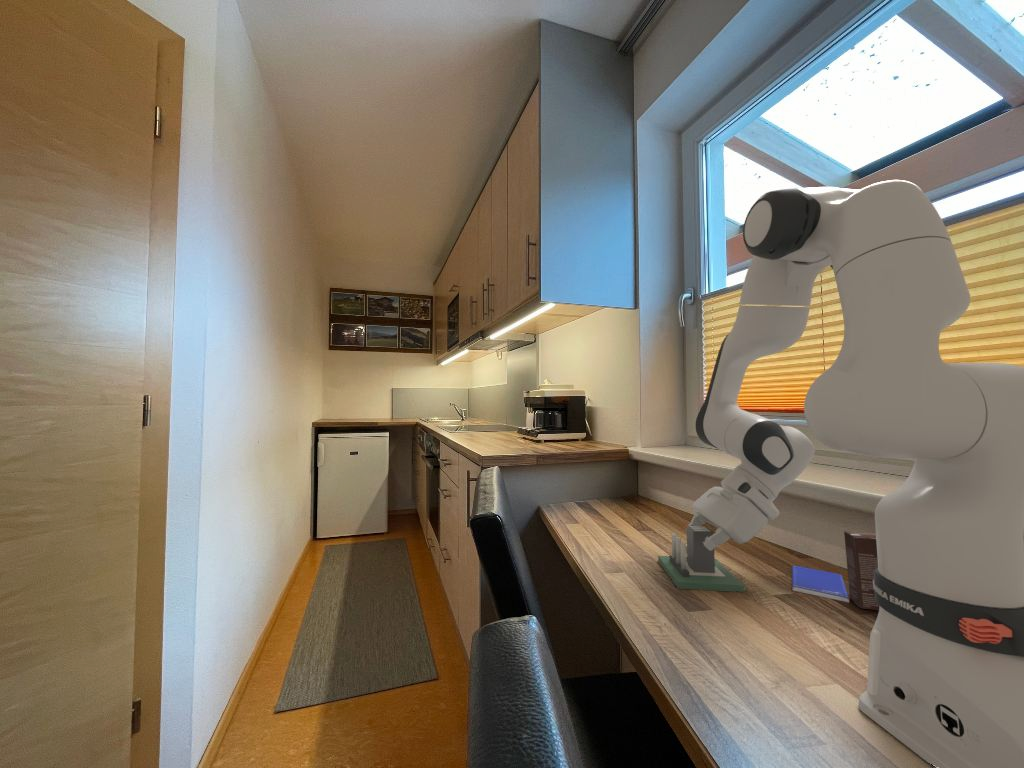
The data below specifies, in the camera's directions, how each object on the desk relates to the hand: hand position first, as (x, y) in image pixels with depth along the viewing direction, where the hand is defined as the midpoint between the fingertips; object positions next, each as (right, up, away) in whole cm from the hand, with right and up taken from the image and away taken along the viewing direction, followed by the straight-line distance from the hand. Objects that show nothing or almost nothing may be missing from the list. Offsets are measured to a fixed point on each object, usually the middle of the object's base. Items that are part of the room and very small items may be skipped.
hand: (696, 539), depth 81 cm
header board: (0, -7, -1) cm, 7 cm away
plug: (+1, -6, -1) cm, 6 cm away
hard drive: (+22, -8, -5) cm, 23 cm away
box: (+25, -7, -13) cm, 29 cm away
